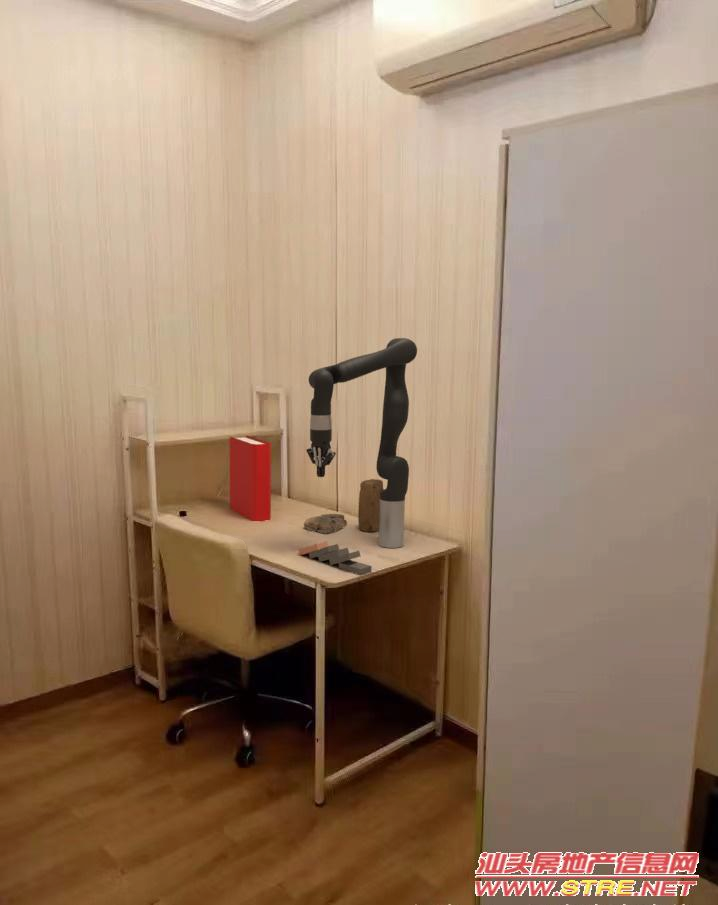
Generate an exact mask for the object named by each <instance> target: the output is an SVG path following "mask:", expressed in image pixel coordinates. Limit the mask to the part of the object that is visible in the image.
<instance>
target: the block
mask: <svg viewBox="0 0 718 905" xmlns="http://www.w3.org/2000/svg"><path fill="white" fill-rule="evenodd" d="M382 490H384V482H383V480H382V479H376V478H371V479H365V480H363V481H361V482H360V490H359V496H358V515H357V517H358V518H357V519H358V520H357V521H358V529H360V530H361V531H363V532H368V533H371V532H373V533H375V532H374V531H376V532H379V531H378V530H379V512H380V492H381V491H382Z"/></svg>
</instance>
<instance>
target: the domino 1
mask: <svg viewBox="0 0 718 905" xmlns="http://www.w3.org/2000/svg"><path fill="white" fill-rule="evenodd" d="M327 546H329V544H328V541H322V542H318V543H315V544H312V545H309V546H306V547H302V548H300V549H297V550H298V554H299V556H303V555H307V554H309V553H310V552H313V551H316V550H318V549H322V548H324V547H327Z"/></svg>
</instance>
